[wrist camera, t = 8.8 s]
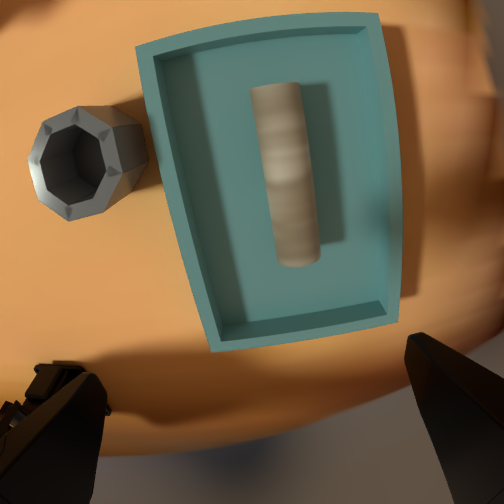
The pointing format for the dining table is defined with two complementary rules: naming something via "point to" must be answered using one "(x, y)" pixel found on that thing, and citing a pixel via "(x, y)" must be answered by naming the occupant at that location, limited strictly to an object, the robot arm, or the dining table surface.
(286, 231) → the birch pin
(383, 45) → the teal tray
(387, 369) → the dining table surface
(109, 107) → the grey cup
